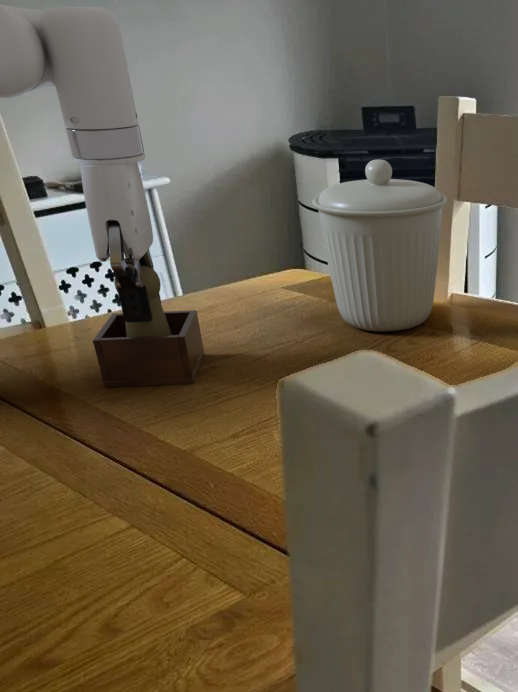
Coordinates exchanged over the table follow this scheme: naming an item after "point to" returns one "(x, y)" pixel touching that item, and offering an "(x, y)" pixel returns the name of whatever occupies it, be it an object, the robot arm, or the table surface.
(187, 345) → the box
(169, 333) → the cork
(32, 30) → the robot arm
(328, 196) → the canister
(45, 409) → the table surface
